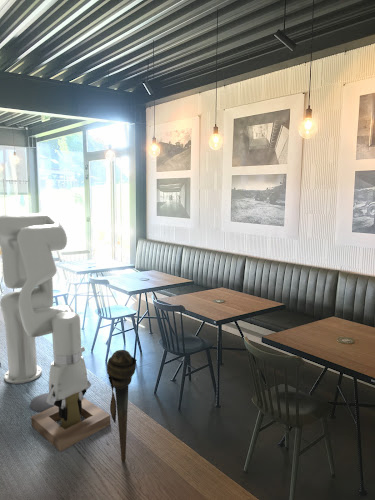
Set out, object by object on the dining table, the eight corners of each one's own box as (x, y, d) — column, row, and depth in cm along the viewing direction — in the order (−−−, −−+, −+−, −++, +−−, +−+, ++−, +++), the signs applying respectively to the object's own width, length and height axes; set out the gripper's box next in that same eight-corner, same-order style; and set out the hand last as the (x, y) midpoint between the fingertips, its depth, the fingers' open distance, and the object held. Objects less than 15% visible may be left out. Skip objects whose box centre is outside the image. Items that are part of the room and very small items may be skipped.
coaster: (24, 403, 125) (24, 401, 124) (53, 391, 132) (53, 389, 132) (39, 415, 118) (39, 414, 118) (69, 402, 125) (69, 400, 125)
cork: (75, 433, 110) (74, 397, 108) (56, 430, 111) (54, 394, 109) (85, 420, 116) (84, 386, 114) (66, 417, 117) (65, 383, 115)
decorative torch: (127, 448, 104) (125, 342, 98) (142, 462, 99) (140, 351, 93) (104, 460, 99) (100, 349, 94) (119, 475, 94) (115, 359, 89)
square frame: (31, 426, 113) (31, 416, 113) (80, 403, 125) (79, 394, 124) (60, 451, 102) (59, 441, 102) (110, 424, 114) (110, 415, 114)
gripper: (85, 343, 118) (88, 399, 122) (32, 361, 106) (37, 423, 109) (100, 350, 113) (102, 408, 117) (46, 370, 101) (50, 434, 104)
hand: (70, 414), depth 113 cm, fingers closed on cork, 3 cm apart
